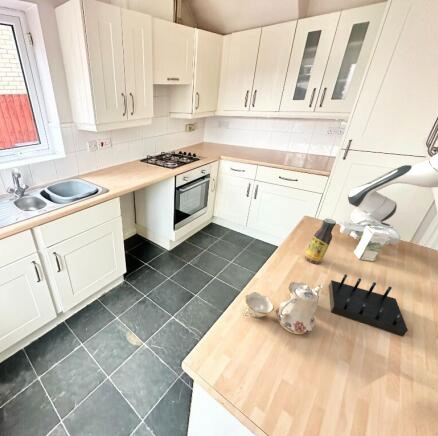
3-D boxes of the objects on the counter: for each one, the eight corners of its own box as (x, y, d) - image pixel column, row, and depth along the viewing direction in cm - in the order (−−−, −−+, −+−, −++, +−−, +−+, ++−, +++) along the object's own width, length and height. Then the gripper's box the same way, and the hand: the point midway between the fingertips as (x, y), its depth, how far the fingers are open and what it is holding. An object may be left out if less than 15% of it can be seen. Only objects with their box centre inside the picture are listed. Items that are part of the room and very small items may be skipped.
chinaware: (295, 291, 91) (303, 253, 85) (341, 322, 77) (356, 280, 70) (234, 313, 83) (239, 273, 76) (273, 354, 68) (283, 309, 62)
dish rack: (391, 304, 83) (402, 288, 79) (403, 336, 73) (416, 320, 69) (328, 286, 91) (335, 270, 88) (330, 312, 81) (339, 296, 77)
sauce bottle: (301, 257, 106) (315, 217, 97) (311, 254, 108) (326, 215, 99) (314, 266, 101) (331, 225, 92) (325, 262, 103) (342, 222, 93)
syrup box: (367, 254, 108) (382, 226, 101) (374, 262, 103) (390, 233, 96) (352, 252, 109) (366, 224, 102) (359, 260, 104) (373, 231, 97)
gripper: (340, 215, 116) (343, 228, 106) (397, 226, 107) (406, 241, 97) (336, 227, 119) (338, 240, 109) (390, 238, 110) (399, 254, 100)
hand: (371, 241), depth 103 cm, fingers open, 8 cm apart
